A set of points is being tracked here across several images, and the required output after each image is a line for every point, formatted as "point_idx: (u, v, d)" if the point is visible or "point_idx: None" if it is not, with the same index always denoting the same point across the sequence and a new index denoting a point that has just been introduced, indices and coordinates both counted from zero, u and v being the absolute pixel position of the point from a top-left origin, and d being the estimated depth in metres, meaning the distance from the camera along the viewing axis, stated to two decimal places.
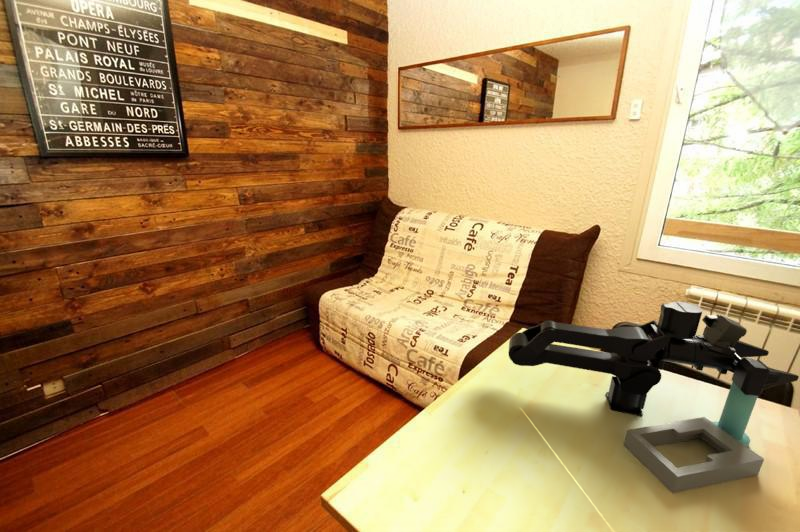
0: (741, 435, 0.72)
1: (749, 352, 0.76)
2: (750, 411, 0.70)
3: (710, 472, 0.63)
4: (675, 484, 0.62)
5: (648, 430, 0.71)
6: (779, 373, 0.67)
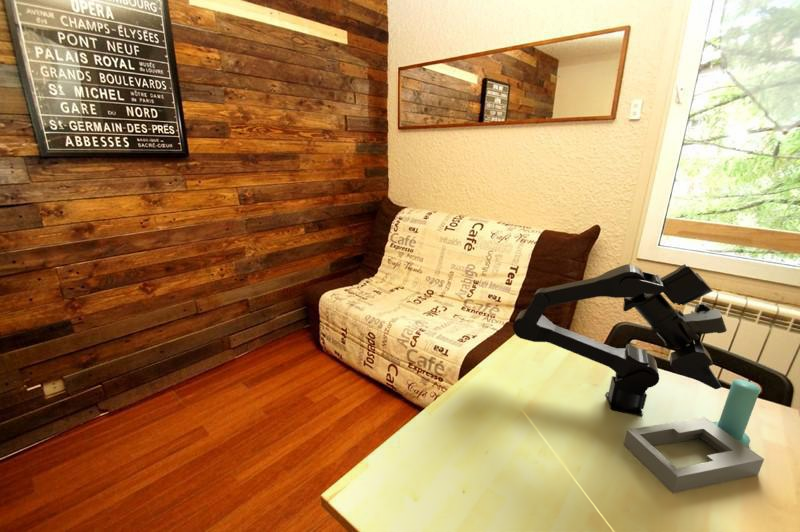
0: (741, 435, 0.72)
1: None
2: (750, 411, 0.70)
3: (710, 472, 0.63)
4: (675, 484, 0.62)
5: (648, 430, 0.71)
6: (711, 374, 0.68)
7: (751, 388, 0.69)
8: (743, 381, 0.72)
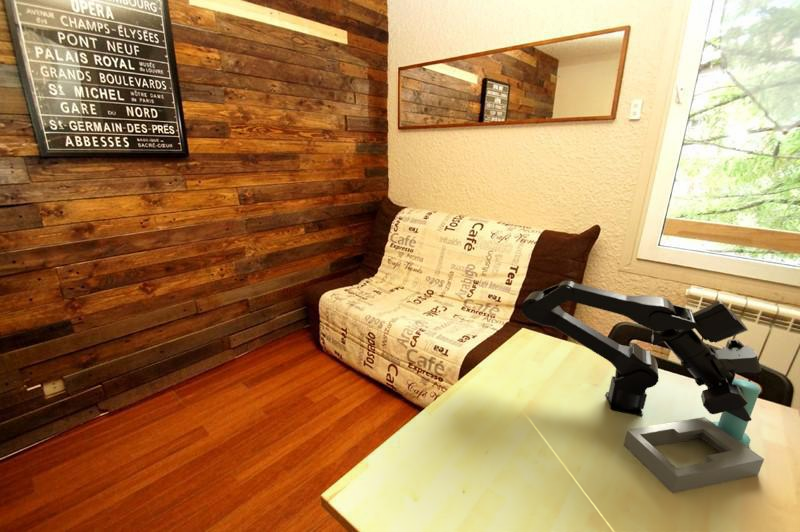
0: (741, 435, 0.72)
1: None
2: (750, 411, 0.70)
3: (710, 472, 0.63)
4: (675, 484, 0.62)
5: (648, 430, 0.71)
6: (742, 407, 0.69)
7: (751, 388, 0.69)
8: (743, 381, 0.72)
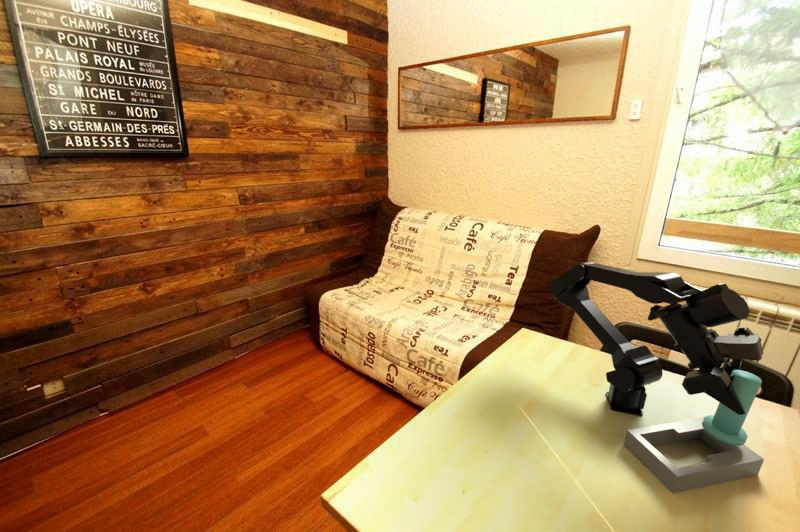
0: (735, 430, 0.66)
1: None
2: (747, 405, 0.64)
3: (710, 472, 0.63)
4: (675, 484, 0.62)
5: (648, 430, 0.71)
6: (734, 397, 0.63)
7: (750, 379, 0.63)
8: (747, 372, 0.65)
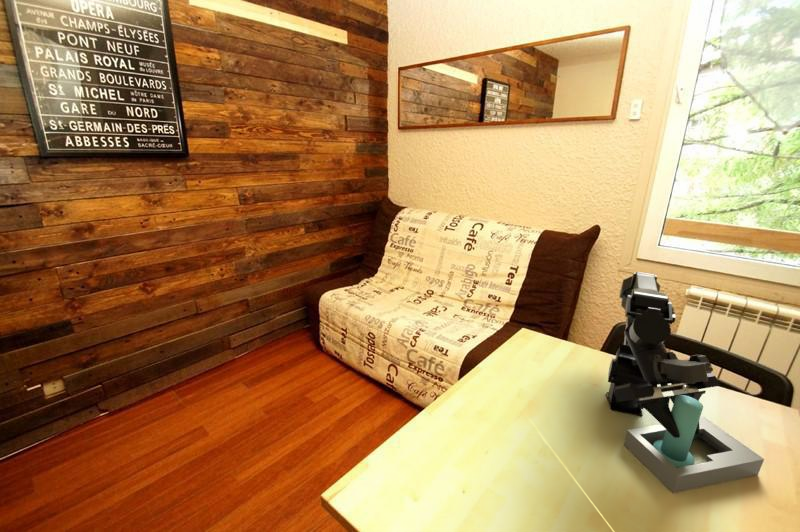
0: (675, 455, 0.66)
1: None
2: (683, 430, 0.64)
3: (710, 472, 0.63)
4: (675, 484, 0.62)
5: (648, 430, 0.71)
6: (666, 416, 0.65)
7: (688, 405, 0.63)
8: (695, 400, 0.64)
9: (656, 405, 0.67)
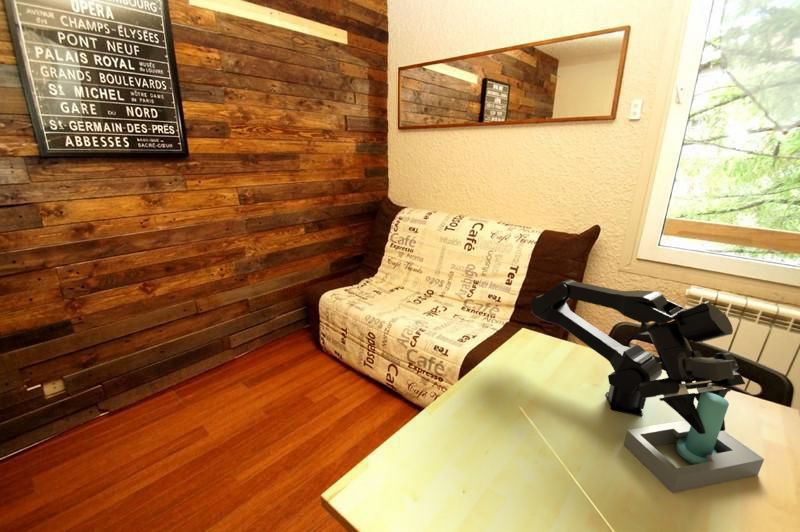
0: (700, 452, 0.67)
1: None
2: (709, 426, 0.65)
3: (710, 472, 0.63)
4: (675, 484, 0.62)
5: (648, 430, 0.71)
6: (692, 413, 0.66)
7: (714, 402, 0.64)
8: (720, 397, 0.65)
9: (681, 402, 0.68)
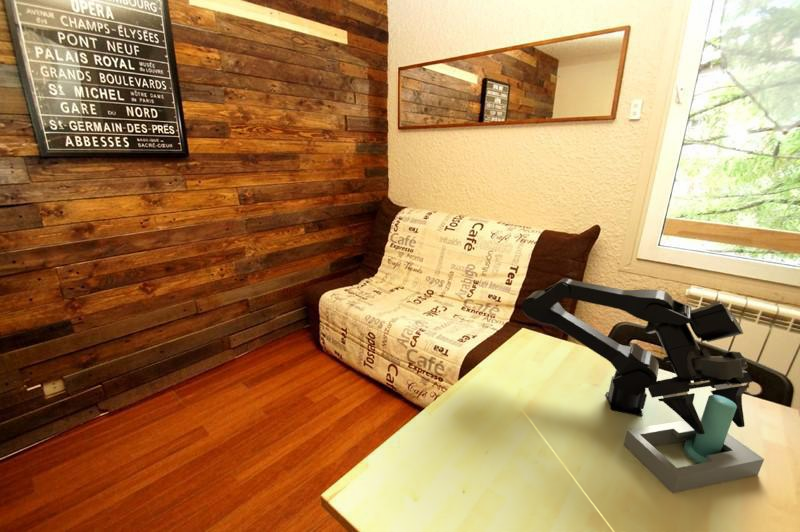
0: (708, 453, 0.67)
1: None
2: (717, 428, 0.66)
3: (710, 472, 0.63)
4: (675, 484, 0.62)
5: (648, 430, 0.71)
6: (691, 413, 0.66)
7: (722, 404, 0.65)
8: (728, 400, 0.66)
9: (680, 402, 0.68)
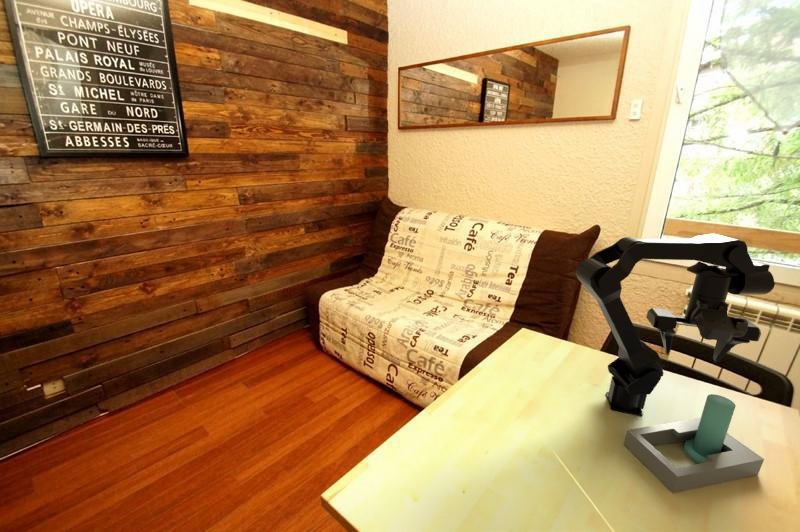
0: (708, 453, 0.67)
1: (717, 347, 0.78)
2: (716, 428, 0.66)
3: (710, 472, 0.63)
4: (675, 484, 0.62)
5: (648, 430, 0.71)
6: (665, 341, 0.80)
7: (721, 403, 0.65)
8: (726, 399, 0.66)
9: None
